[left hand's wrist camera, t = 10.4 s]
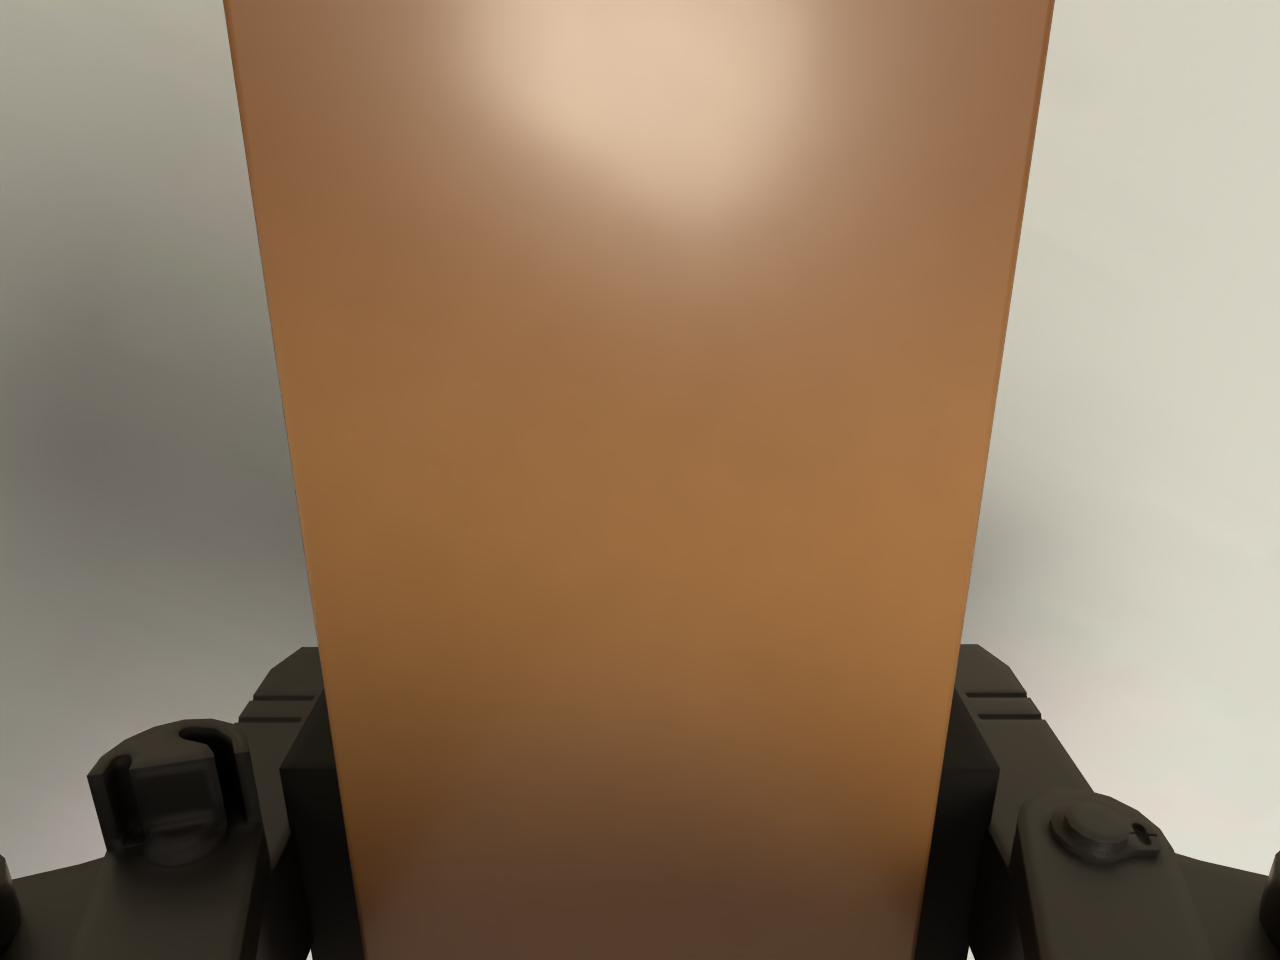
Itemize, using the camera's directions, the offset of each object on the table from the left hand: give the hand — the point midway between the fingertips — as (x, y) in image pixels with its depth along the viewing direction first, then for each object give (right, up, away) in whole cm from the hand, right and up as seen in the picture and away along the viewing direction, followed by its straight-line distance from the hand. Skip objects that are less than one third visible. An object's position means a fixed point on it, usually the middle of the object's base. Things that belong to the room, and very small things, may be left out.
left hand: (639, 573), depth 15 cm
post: (0, +34, -13) cm, 37 cm away
